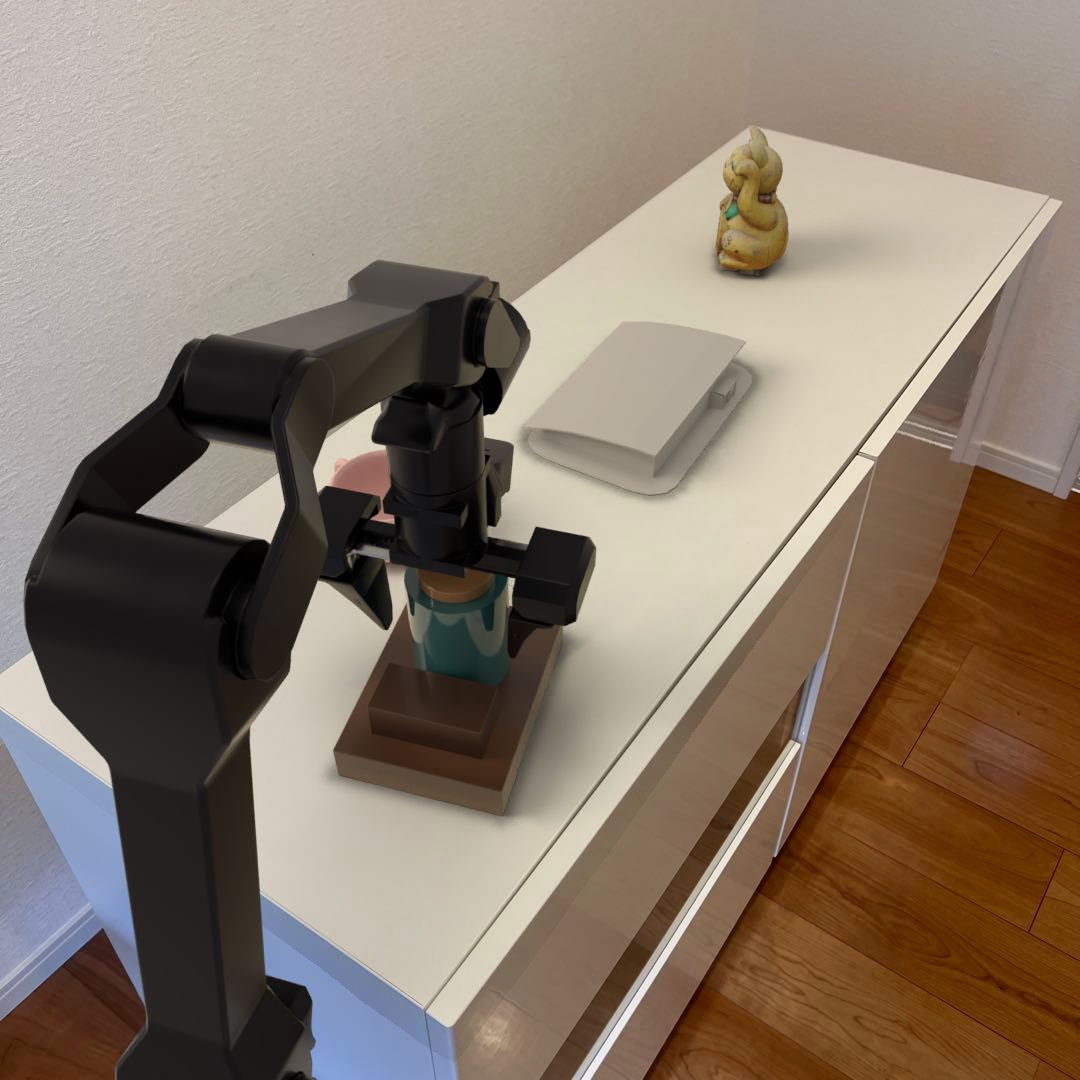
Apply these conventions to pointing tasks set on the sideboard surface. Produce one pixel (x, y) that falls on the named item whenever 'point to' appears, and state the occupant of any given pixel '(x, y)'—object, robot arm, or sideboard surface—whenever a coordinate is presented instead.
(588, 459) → the grey flat folded piece
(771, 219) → the decorative figurine
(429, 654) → the jar
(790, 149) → the sideboard surface
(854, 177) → the sideboard surface
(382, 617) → the robot arm
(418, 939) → the sideboard surface
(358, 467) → the mug
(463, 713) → the stand
